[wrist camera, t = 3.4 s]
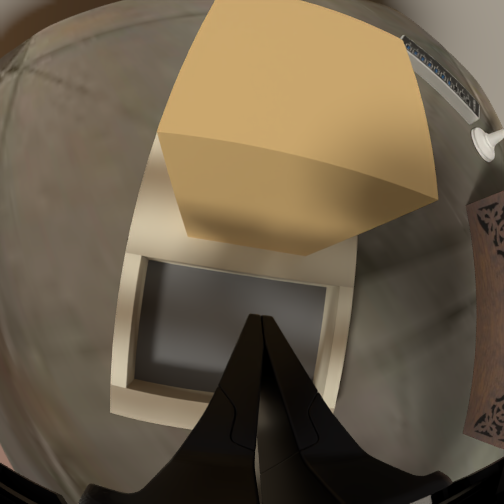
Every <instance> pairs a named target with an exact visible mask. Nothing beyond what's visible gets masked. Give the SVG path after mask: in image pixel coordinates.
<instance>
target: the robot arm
mask: <svg viewBox="0 0 504 504" xmlns="http://www.w3.org/2000/svg"><path fill="white" fill-rule="evenodd" d="M317 392H318V390H317V388H316V387H315V385H314V383H313V382H312V380H311V379H310V377H309V375H308V374H307V372H306V370H305V369H304V367H303V366H302V364H301V362H300V361H299V359H298V357H297V356H296V354H295V352H294V351H293V349H292V348H291V346H290V344H289V343H288V341H287V339H286V338H285V336H284V334H283V333H282V331H281V329H280V328H279V326H278V324H277V323H276V321H275V319H274V318H273V317H272V316H268V315H261V316H260V315H259V314H252V313H250V314H249V315H248V317H247V319H246V322H245V324H244V326H243V329H242V331H241V333H240V336H239V338H238V340H237V342H236V345H235V347H234V349H233V352H232V354H231V356H230V358H229V361H228V363H227V365H226V368H225V370H224V372H223V374H222V377H221V379H220V381H219V383H218V386H217V388H216V390H215V392H214V394H213V396H212V398H211V400H210V402H209V404H208V406H207V408H206V410H205V411H204V413H203V415H202V416H201V418H200V419H199V421H198V422H197V424H196V425H195V427H194V428H193V430H192V431H191V433H190V434H189V436H188V437H187V438H186V440H185V441H184V443H183V444H182V446H181V447H180V448H179V450H178V451H177V452H176V454H175V455H174V456H173V457H172V459H171V460H170V461H169V462H168V463H167V464H166V465H165V466H164V467H163V468H162V469H161V470H160V472H159V473H158V474H157V475H156V476H155V477H154V478H153V479H152V480H151V481H150V482H149V483H148V484H147V485H146V486H145V487H144V488H143V489H141V490H140V491H138V492H135V493H122V492H119V491H115V490H112V489H108V488H105V487H102V486H98V485H95V484H89V485H88V486H87V488H86V490H85V491H84V493H83V495H82V497H81V499H80V501H79V504H260V503H259V496H258V489H257V482H256V475H255V449H256V438H257V441H258V453H259V466H260V474H261V475H260V479H261V492H262V504H504V457H502V458H501V459H499V460H497V461H495V462H494V463H492V464H490V465H488V466H486V467H484V468H482V469H480V470H478V471H476V472H474V473H472V474H470V475H468V476H466V477H463V478H461V479H459V480H456V481H454V482H452V481H451V479H450V478H449V477H448V476H447V475H445V474H444V473H442V472H440V471H436V472H433V473H431V474H429V475H426V476H416V475H412V474H409V473H407V472H405V471H402V470H400V469H398V468H395V467H393V466H391V465H389V464H386V463H384V462H382V461H380V460H378V459H376V458H374V457H372V456H370V455H369V454H367V453H366V452H365V451H364V450H363V449H362V448H361V447H360V446H359V445H358V444H357V443H356V442H355V440H354V439H353V438H352V437H351V436H350V434H349V433H348V432H347V431H346V429H345V428H344V427H343V426H342V425H341V423H340V422H339V421H338V419H337V418H336V417H335V416H334V414H333V413H332V412H331V410H330V409H329V407H328V406H327V404H326V403H325V401H324V400H323V398H322V396H321V395H320V393H319V392H318V393H317ZM0 504H67V502H66V501H65V499H64V498H63V496H62V495H60V494H58V493H56V492H54V491H51V490H49V489H47V488H45V487H43V486H41V485H39V484H37V483H35V482H33V481H31V480H29V479H28V478H26V477H24V476H22V475H20V474H19V473H17V472H15V471H13V470H12V469H10V468H8V467H7V466H5V465H3V464H2V463H0Z"/></svg>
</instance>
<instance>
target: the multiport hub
mask: <svg viewBox="0 0 504 504" xmlns="http://www.w3.org/2000/svg"><path fill="white" fill-rule="evenodd" d="M400 39H401V40H403V42H404V45H405V47H406V50H407V53H408V56H409V59H410V62H411V65H412V68H413V70H414V71H415V72H416V73H417V74H419V75H420V76H421V77H422V78H423V79H424V80H425V81H427V82H428V83H429V84H430V85H431V86H432V87H433V88H434V89H435V90H436V91H437V92H439V93H440V94H441V95H442V96H443V97H444V98H445V99H446V100H447V101H448V102H449V103H450V104H451V105H452V106H453V107H454V108H455V109H456V110H457V112H458V113H459V114H460V115H461V116H462V117H463V118H464V119H465V120H466V121H467V122H468V124H470V125H471V124H472V123H474V122H475V121H477V120H478V119H479V113H480V105H479V104H478V102H477V101H476V100H475V99H474V98H473V97H472V96H471V94H470V93H469V92H468V91H467V90H466V89H465V88H464V87H463V86H462V85H461V84H460V83H459V82H458V81H457V80H456V79H455V78H454V77H453V76H452V75H451V74H450V73H449V72H448V71H447V70H446V69H445V68H443V67H442V66H441V65H440V64H439V63H438V62H437V61H436V60H435V59H433V58H432V57H431V56H430V55H429V54H428V53H426V52H425V51H424V50H423V49H422V48H420V47H419V46H418V45H417V44H415V43H414V42H413V41H412V40H410V39H409V38H408V37H406V36H405V35H403V36H402V37H401V38H400Z"/></svg>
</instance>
